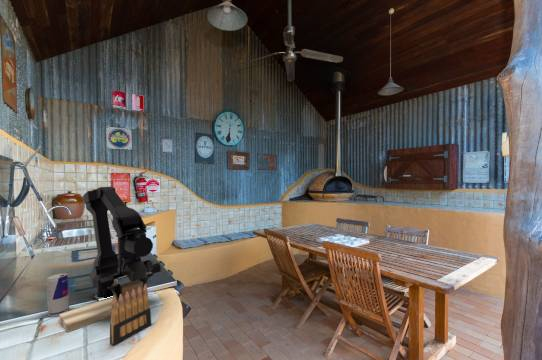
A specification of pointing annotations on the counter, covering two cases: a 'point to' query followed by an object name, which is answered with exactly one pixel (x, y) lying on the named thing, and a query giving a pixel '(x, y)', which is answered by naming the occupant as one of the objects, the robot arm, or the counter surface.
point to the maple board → (86, 314)
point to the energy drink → (57, 294)
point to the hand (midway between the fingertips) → (130, 300)
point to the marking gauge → (129, 287)
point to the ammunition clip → (129, 316)
